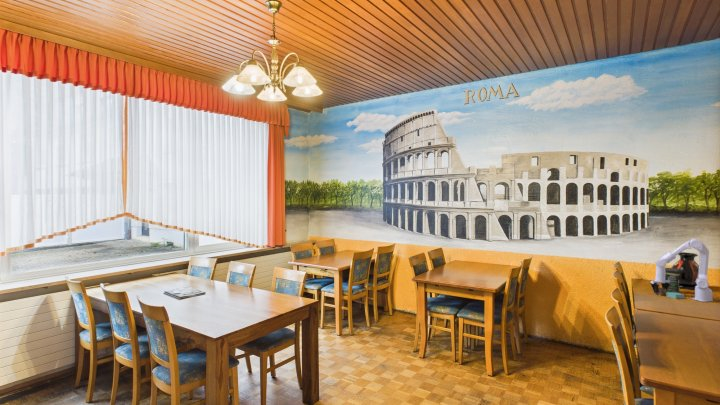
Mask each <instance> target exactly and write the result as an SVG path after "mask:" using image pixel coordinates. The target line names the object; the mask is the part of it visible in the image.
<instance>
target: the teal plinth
mask: <svg viewBox="0 0 720 405" xmlns="http://www.w3.org/2000/svg"><path fill="white" fill-rule="evenodd" d="M666 297H667V298H671V299H674V300H683V299H685V294H683V293H680V292H679V293H676V292H666Z"/></svg>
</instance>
